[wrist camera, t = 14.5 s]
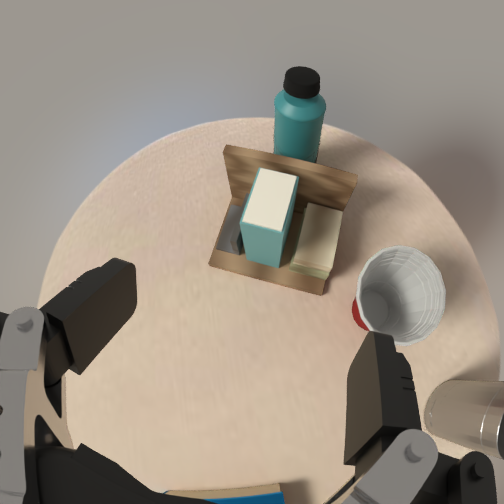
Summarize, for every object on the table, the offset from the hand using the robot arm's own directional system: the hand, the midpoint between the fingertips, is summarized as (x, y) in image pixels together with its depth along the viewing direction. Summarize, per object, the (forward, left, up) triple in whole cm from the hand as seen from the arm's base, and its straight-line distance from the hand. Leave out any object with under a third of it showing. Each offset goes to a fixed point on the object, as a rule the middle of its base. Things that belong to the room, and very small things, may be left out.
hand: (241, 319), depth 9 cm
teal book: (0, -14, -30) cm, 33 cm away
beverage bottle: (-3, -27, -31) cm, 41 cm away
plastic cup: (-15, -6, -31) cm, 35 cm away
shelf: (-1, -15, -31) cm, 34 cm away
